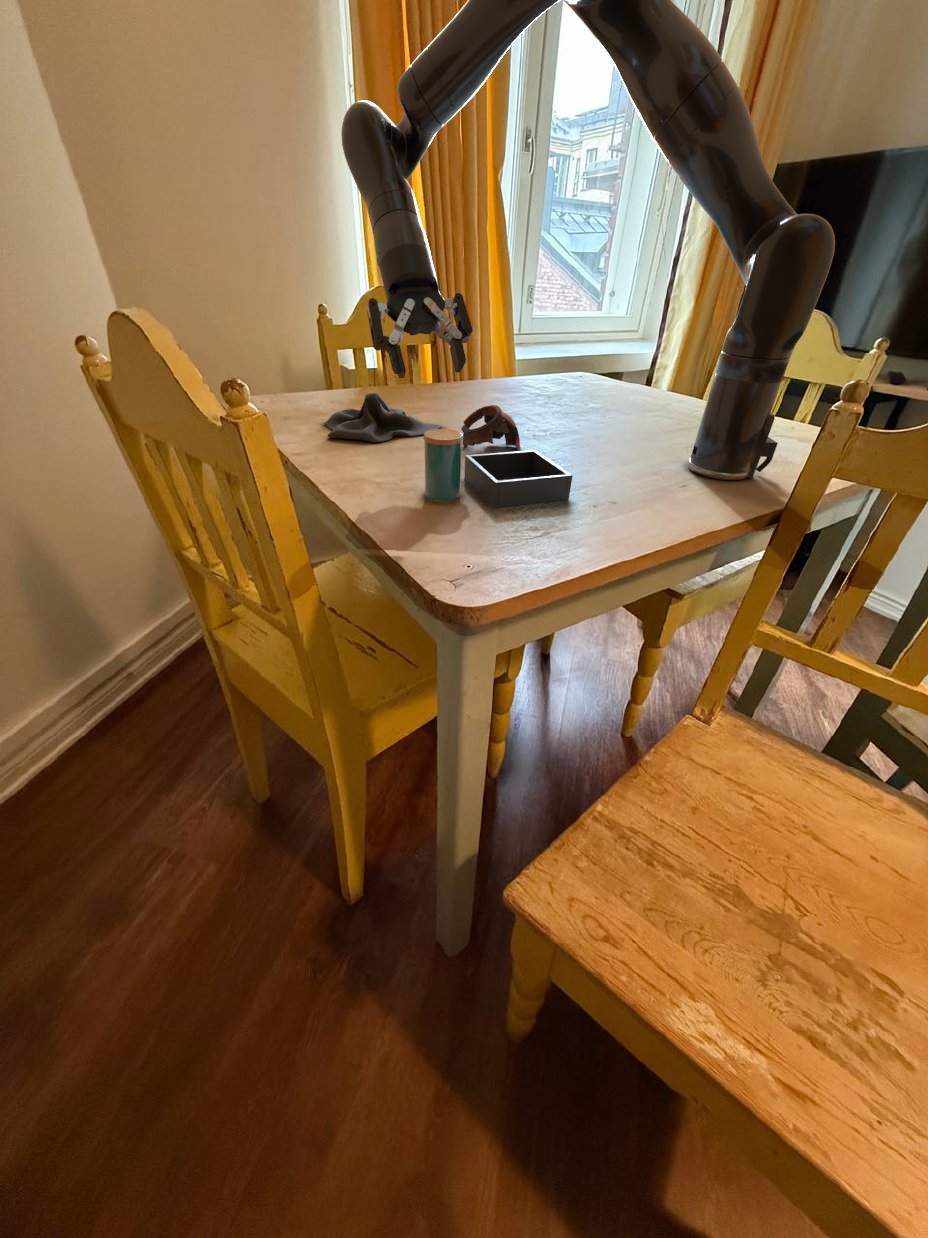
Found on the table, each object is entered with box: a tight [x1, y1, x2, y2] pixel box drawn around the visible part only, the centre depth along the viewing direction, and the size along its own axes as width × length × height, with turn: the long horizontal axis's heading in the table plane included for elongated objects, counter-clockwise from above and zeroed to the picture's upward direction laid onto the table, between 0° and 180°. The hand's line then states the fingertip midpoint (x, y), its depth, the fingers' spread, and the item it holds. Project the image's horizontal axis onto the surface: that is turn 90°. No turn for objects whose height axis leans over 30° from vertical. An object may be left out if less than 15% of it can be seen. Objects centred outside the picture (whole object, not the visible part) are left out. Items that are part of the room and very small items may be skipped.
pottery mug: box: [460, 404, 522, 452], centre depth 89 cm, size 12×10×8 cm
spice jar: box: [423, 428, 463, 502], centre depth 69 cm, size 5×5×8 cm
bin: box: [464, 449, 573, 510], centre depth 73 cm, size 11×11×4 cm
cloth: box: [323, 392, 443, 443], centre depth 97 cm, size 22×19×6 cm
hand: (431, 372), depth 74 cm, fingers open, 8 cm apart
